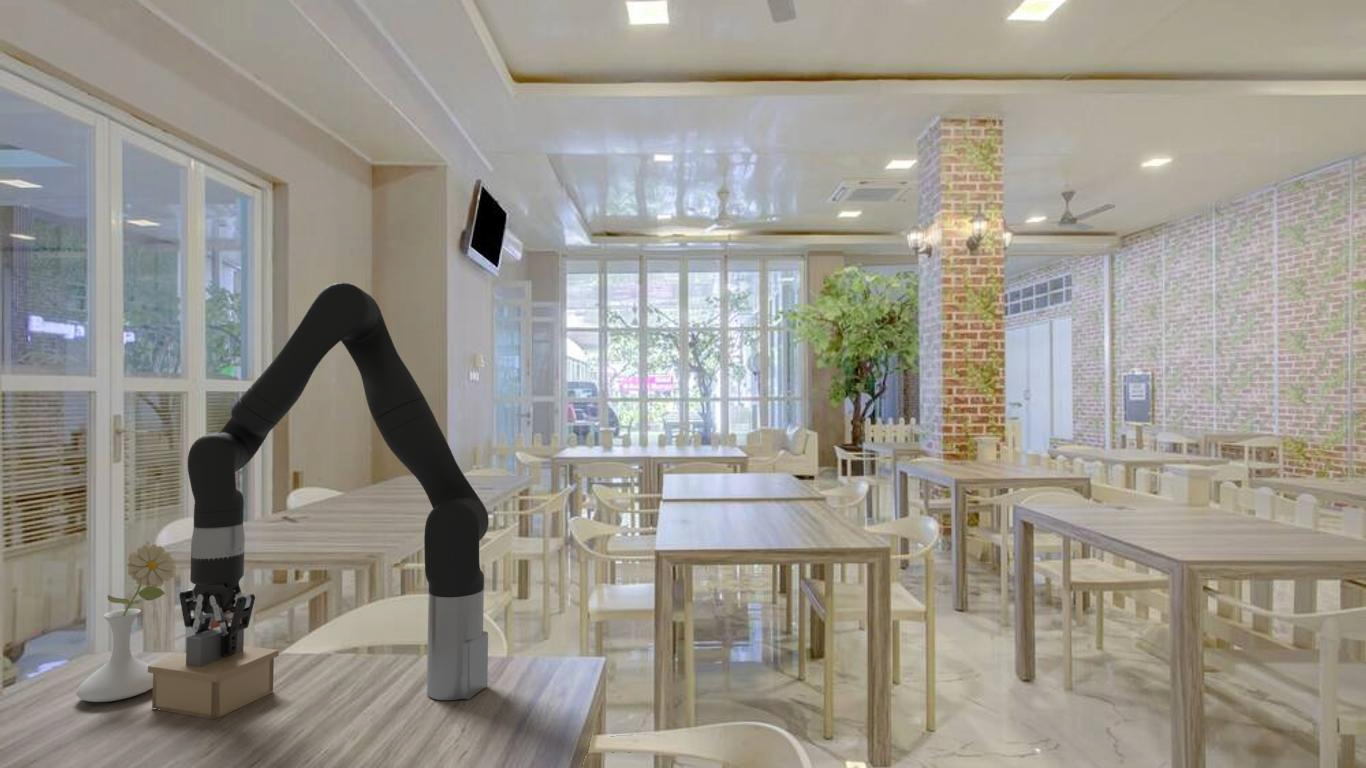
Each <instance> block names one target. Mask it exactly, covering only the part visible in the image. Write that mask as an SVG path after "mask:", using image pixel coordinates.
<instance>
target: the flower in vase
mask: <svg viewBox="0 0 1366 768" xmlns="http://www.w3.org/2000/svg"><path fill="white" fill-rule="evenodd" d="M171 555H172V554H171V553H170V552H168V551H166V549H165V548H164V547H163V546H161V545H157V544H155V543H152V544H151V545H148V544H147V543H144V544H142V546H139V547H138V548H137V550H136V551H135V550H134V551H132V552H131V553H129V556H128V558H127V560H128V563H127V565H126V566H127V569H128V571H127V575H129V576H130V577H131V579H132V580H133V581H136V584H137V585H138V587H137V589H136V592H135V593H134V595H133V596H132V598H131V600H129V599H127V598H119V597H115V596H111V595H109V594H107V600H108V601H109V602H110V603H114V604H122V605H127V606H126V607H125V609H124V608H123V609H119V610H113V611H110V612H107V613H105V614H103V617H104V619H105V620H106V621H107V622H108V624H109V625H110V628H111V632H112V640H113V641H112V653H111V656H110V658H109V659H108V660H107V662H105V664H103V665H102V666H101V667H100V668H98V669H97V670H96V671H94V672H93V673H92V674H91V675H90V676H89V677H87V678H86V679H85V680H84V681H83V682H82V683H81V684H80V685H79V686H78V688H77V691H76V694H75V695H76V696H77V697H78V699H80V701H81V700H82V701H85V702H94V703H106V702H114V701H120V700H124V699H127V698H132V697H135V696H138V695H141V694H143V693H145V692H148V691H149V690H151V689H153V673H148V666H150V665H151V664H148V663H147V662H145V661H142V660H140V659H139V658H136V657H135V656H134V655H133V653H132V652H131V641H130V640H131V632H132V628H133V625H134V623H135V620H136V618H137V617H138V616H139V614H140V613H141V612H142V610H141V609H140V608H139V609H138V608H130V607H131V605H132V604H133V602H134V601H135V599H136V598H137V596H138V595H139V597H140V598H142V599H143V600H145V601H154V600H156V599H158V598H160V597H161V596H163V595H165V591H164V590H163V589H161V588H160V587H161V586H162V585H164V583H165V582H169V581H170V580H171V578H174V576H175V573H174V571H175V570H176V569H177V566H176V565H175V563H176V561H175V559H174V557H172V556H171ZM141 586H145V587H143V588H142V589H141ZM140 589H141V590H140Z"/></svg>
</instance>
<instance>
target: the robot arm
mask: <svg viewBox="0 0 1366 768" xmlns="http://www.w3.org/2000/svg"><path fill="white" fill-rule="evenodd" d="M340 342H341V343H342V344H343V346H344V347H345V349H346V350H347V352H348V353H349V355H350V357H351V359H352V360H353V362H354V363H355V365H356V367H357V369H358V372H359V374H360V377H361V381H362V384H363V390H364V394H365V395H364V396H365V398H366V399H365V400H366V403H367V406H368V409H369V412H370V415H371V418H372V419H373V421H374V423H375V425H376V427H377V429H378V431H379V433H380V434H381V437H382V438H383V440H384V442H385V443H386V446H387V447H388V448H389V450H390V451H391V452H392V453H393V454H394V456H395V457H396V458H397V459H398V460H399V461H400V462H401V463H402V464H403V466H404V467H406V468H407V469H408V470H409V472H410V473H411V474H412V475H413V476H414V477H415V479H417V480H418V482H419V483H420V485H421V487H422V488H423V490H424V492H425V494H426V496H427V498H428V500H429V503H430V505H431V507H432V509H431V511H430V512H429V514H428V515H427V518H426V521H425V524H424V525H425V526H424V537H423V538H424V543H423V545H424V574H425V578H426V581H427V582H428V583H427V584H428V585H427V586H428V607H427V608H428V611H427V615H428V616H427V655H426V658H427V662H426V664H427V665H426V670H427V672H426V694H427V696H428V697H429V698H431V699H434V700H439V701H456V700H470V699H471V698H473V697H474V696H475V695H477V694H478V693H479V692H481V691H482V690H484V689H485V688H487V687H488V676H489V675H488V674H489V673H488V663H489V662H488V661H489V633H488V631H484V612H485V611H484V610H485V609H484V607H485V605H484V603H485V601H484V599H485V598H484V596H485V592H484V591H485V574H484V572H483V571H482V570H481V567H480V565H481V564H480V541H481V540H482V539H483V538H484V536H485V535H486V533H487V531H488V530H489V529H488V528H489V521H490V520H489V514H488V510H487V508H486V507H485V504H484V503H483V502H482V500H481V499H480V497H479V496H478V494H477V493H476V491H475V489H474V488H473V487H472V485H471V484H470V482H469V481H468V479H467V477H466V476H465V475H464V473H463V471H462V470H461V468H460V466H459V465H458V463H457V461H456V459H455V456H454V455H453V452H452V449H451V448H450V446H449V444H448V442H447V439H446V438H445V435H444V433H443V431H442V429H441V427H440V425H439V423H438V421H437V419H436V418H435V415H434V412H433V411H432V409H431V407H430V405H429V403H428V401H427V399H426V398H425V395H424V394H423V392H422V391H421V388H420V387H419V385H418V384H417V382H416V380H415V379H414V377H413V375H412V373H411V372H410V370H409V369H408V367H407V366H406V364H405V363H404V361H403V360H402V359H401V357H400V355H399V353H398V351H397V348H396V347H395V344H394V342H393V340H392V337H391V335H390V332H389V329H388V327H387V324H386V321H385V319H384V317H383V313H382V311H381V308H380V306H379V304H378V303H377V301H376V300H375V299H374V298H373V296H371V295H370V294H369V293H367V292H365V291H364V290H363V289H361V288H360V287H358V286H356V285H355V284H351V283H348V282H347V283H346V282H336V283H333V284H330V285H328V286H326V287H325V288H324V289H322V291H320V293H318V295H317V296H316V298H315V299H314V301H313V303H312V304H311V305H310V307H309V308H308V310H307V312H306V314H305V315H304V317H303V318H302V320H301V321H300V322H299V325H298V326H297V328H296V329H295V330H294V332H293V334H292V335H291V336H290V337H289V339H288V340H287V342H286V344H285V345H284V347H282V349H281V351H280V352H279V353H278V354H277V356H276V357H275V358H274V359H273V361H272V362H271V363H270V364H269V365H268V366H267V368H266V369H265V370H264V371H263V372H262V373H261V375H260V376H259V377H258V378H257V379H256V380H255V381H254V382H253V383H252V385H251V386H250V387H249V388H248V389H247V390H246V391H245V392H244V394H242V395H241V397H240V398H239V399H238V400H237V401H236V402H235V404H234V406H233V407H232V408H231V411H230V414H231V417H230V419H229V420H228V421H227V423H226V424H224V427H222V429H221V430H220V431H219V432H217V433H212V434H211V433H210V434H206V435H202V436H201V437H198V439H196V440H195V441H194V442H193V444H191V447H190V448H189V452H188V456H187V472H188V473H187V474H188V477H189V482H190V483H189V484H190V488H191V492H192V497H193V499H194V504H193V505H194V506H193V530H192V531H193V532H192V534H191V535H192V536H191V543H190V575H189V576H190V577H189V578H190V579H189V581H190V583H191V584H192V585H194V587H193V588H191V589H186V590H185V591H181V592H179V600H180V607H181V611H182V612H181V614H182V619H183V624H184V626H185V628H186V627H192V629H193V631H194V632H195V635H196V634H199V633H202V632H205V631H208V630H211V629H209V627H211V624H212V620H213V617H214V616H215V619H216V622H218V623H219V624H220V628H221V632H222V635H221V657H224V658H227V657H229V656H232V655H234V654H235V652H236V650H237V633H238V631H240V630H242V629H244V630H245V629H248V627H249V624H250V621H251V617H252V613H253V609H254V603H255V600H256V596H255V594H254V593H250V594H245V593H242V590H241V587H240V581H241V579H242V578H243V577H244V573H245V541H246V540H245V529H244V528H245V527H244V511H245V510H244V508H245V506H244V505H245V502H244V495H243V493H242V492H241V491H240V490H238V489H237V484H236V472H238V471H240V470H241V469H242V468H244V467H245V466H247V464H248V463H249V462H250V461H251V460H252V459H253V457H254V456H255V454H256V453H257V452H258V451H259V449H260V447H261V446H262V445H263V443H264V442H265V440H266V438H267V436H268V435H269V433H270V432H271V431H272V430H273V429H274V428H275V427H276V426H277V425H278V424H279V422H281V420H282V419H283V418H284V417H285V415H286V414H287V413H289V411H290V410H291V409H292V407H293V406H294V405H295V404H296V403H297V401H298V400H299V398H300V397H301V395H302V394H303V393H304V391H305V388H306V386H307V385H308V383H309V381H310V379H311V377H312V375H313V373H314V371H315V370H316V368H317V367H318V365H319V364H320V362H321V361H322V360H323V358H324V357H325V356H326V355H327V354H328V353H329V352H330V351H332V349H333V348H334V347H335V346H336V345H337V344H338V343H340ZM229 611H230V614H228V615H224V614H223V613H227V612H229ZM192 612H193V613H194V615H193V617H194V618H191V614H192ZM241 618H242V620H241ZM204 619H205V620H204ZM228 619H230V622H231V626H228V622H227V620H228ZM240 620H241V622H240Z"/></svg>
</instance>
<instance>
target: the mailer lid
mask: <svg viewBox="0 0 1366 768" xmlns="http://www.w3.org/2000/svg"><path fill="white" fill-rule="evenodd" d="M228 626H231V623H229V624H228ZM221 635H222V632H221V628H220V627H217V628H214V629H211V630H208V631H205V632H202V633H199V634H196V635H193V636H190V637H187V642H186V653H185V652H184V653H181V654H179V655H175V656H172V657H170V658H168V659H165V660H161V661H158V662H156V663H154V664H149V665H150V666H148V673H155V674H162V675H169V676H176V677H182V678H189V679H196V680H203V681H210V682H217V681H220V680H222V679H224V678H227V677H229V676H232V675H234V674H237V673H239V672H241V671H244V670H246V669H249V668H251V667H253V666H256V665H258V664H261V663H263V662H265V661H268V660H270V659H273V658H274V659H275V658H277V657H279V653H280V650H279V649H273V648H265V647H257V646H256V647H255V646H249V645H244V643H245V642H244V640H245V629H242V630H240V631H238V633H237V650H236V652H235V654H234V655H232V656H229V657H227V658H224V657H221Z"/></svg>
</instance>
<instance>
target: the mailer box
mask: <svg viewBox="0 0 1366 768" xmlns="http://www.w3.org/2000/svg"><path fill="white" fill-rule="evenodd" d="M274 660H275V658H273V659H270V660H268V661H265V662H263V663H261V664H258V665H256V666H253V667H251V668H249V669H246V670H244V671H241V672H239V673H237V674H234V675H232V676H229V677H227V678H224V679H222V680H220V681H217V682H210V681H203V680H196V679H189V678H182V677H176V676H169V675H162V674H155V673H153V688H152V699H151V700H152V703H151V705H152V706H151V709H152V708H156V709H160V710H159V711H161V710H164V711H163V712H167V711H170V712H169V713H173V712H174V713H175V714H180V715H186V716H193V717H199V718H205V719H209V720H210V719H211V720H216V719H218V718H219V719H220V718H221V717H223V716H225V715H227V714H229V713H232V712H234V711H235V710H237V709H239V708H243V707H244V706H246V705H248V704H250V703H253V702H255V701H257V700H258V699H261V698H263V697H265V696H267V695H270V694H271V693H273V692H274V669H275V668H274V667H275V665H274V664H275V662H274Z"/></svg>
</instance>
